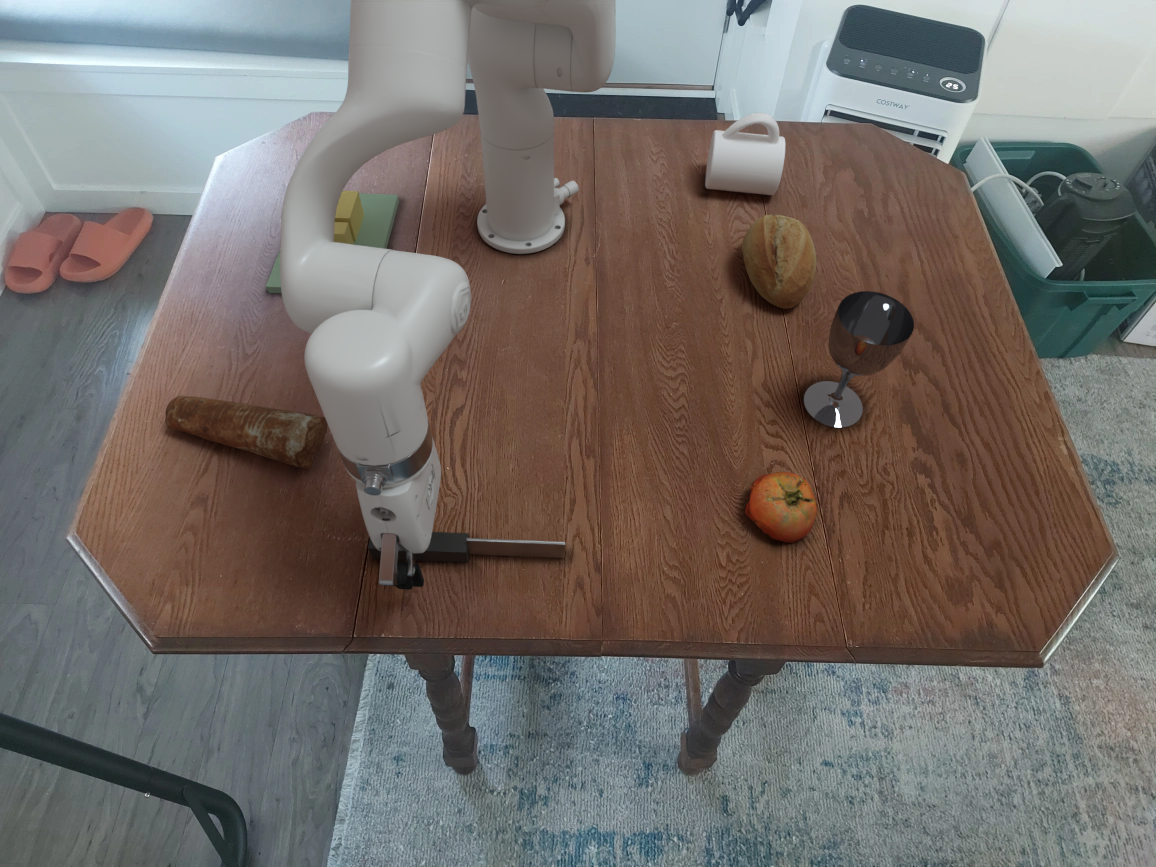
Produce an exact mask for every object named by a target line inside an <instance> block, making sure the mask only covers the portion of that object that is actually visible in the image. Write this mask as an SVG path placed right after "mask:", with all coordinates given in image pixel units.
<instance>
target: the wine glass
mask: <svg viewBox="0 0 1156 867" xmlns="http://www.w3.org/2000/svg"><path fill="white" fill-rule="evenodd" d="M914 328H915V321H914V317H913V315H912V313H911V312H910V310H909V309H908V308H907V307H906V306H905V305H904V304H903V303H902V302H901V301H899V300H898V299H896V298H894V297H893V296H890V295H888V294H885V293H882V292H878V291H869V290H862V291H856V292H852V293H850V294H848V295H847V296H845V297H844V298H843V299H841V301H840V303H839V304H838V306H837V308H836V311H835V314H834V316H833V319H832V322H831V325H830V329H829V335H828V351H829V354H830V357H831V358H832V361H833V362H834V364H835V365H836V366H837V367H838V368H839V369H840V372H841V374H840V380H839V381H838V382H837V381H830V380H825V381H818V382H815V383H812V385H810V386H808V388H807V389H806V390H805V391H804V394H803V405H804V408H805V410H806V412H807V413H808V415H809V416H810V417H811V418H813V419H814V420H815V421H816V422H818V423H820V424H822V425H824V426H825V427H829V428H830V427H831V428H836V429H842V428H843V429H844V428H848V427H851V426H854V425H855V424H856V423H857V422H859V420H860V419H861V417H862V416H863V412H864V408H863V403H862V401H861V398H860V397H859V396H858V394H857V392H855V391H854V390H853V389H851V388H850V387H849V386H848V384H849V383H850V382H851V381H852V379H854V378H855V377H864V376H865V377H866V376H871V375H876V374H878V373H880V372H882V371H883V370H884V369H886V368H887V367H889V366H890V365H891V364H892V363H893V362H894V361H895V360H896V359H897V358H898V357H899V355H900V354H901V353H902V352H903V350H904V348H905V347H906V345H907V343H908V342H909V340H910V338H911V336H912V335H913V332H914Z"/></svg>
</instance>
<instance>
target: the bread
mask: <svg viewBox="0 0 1156 867" xmlns="http://www.w3.org/2000/svg"><path fill="white" fill-rule="evenodd" d="M164 422H165V424H166V425H167V427H168V428H169V429H172V430H175V431H178V432H182V433H187V434H190V435H193V436H196V437H199V438H201V439H204V440H207V441H211V442H214V443H218V444H221V445H225V446H228V447H232V448H236V449H240V450H243V451H246V452H249V453H253V454H255V455H259V456H262V457H264V458H267V459H270V460H275V461H277V462H281V463H282V464H283V463H284V464H287V465H289V466H293V467H297V468H300V469H304V470H305V469H306V470H308V469H310V468H311V467H312V466H313V465H314V458H315V456H316V454H317V452H318V451H319V450H320V449H321V447H322V446H323V442H324V440H325V436H326V434H327V431H328V423H327V421H326V418H325V416H318V415H314V414H311V413H306V412H298V411H292V410H287V409H279V408H271V407H266V406H261V405H255V404H249V403H242V402H235V401H228V400H220V399H214V398H207V397H202V396H201V397H200V396H191V395H190V396H188V395H178V396H176V397H174V398H173V399H171V400H170V401H169V402H168V404H167V405H166V408H165V421H164Z"/></svg>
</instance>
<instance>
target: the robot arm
mask: <svg viewBox="0 0 1156 867" xmlns="http://www.w3.org/2000/svg"><path fill="white" fill-rule="evenodd" d="M616 1H617V0H350V11H349V13H350V14H349V16H350V17H349V39H348V60H347V62H348V64H347V66H348V67H347V86H346V91H345V92H346V93H345V96H344V99H343V101H342V103H341V105H340V106H339V108H338V109H337V110H336V112H334V114H333V115H332V116H331V117H330V118H329V119H328V120H327V121H326V122H325V124H323V125H322V127H320V128H319V130H318V131H317V132H316V133H315V135H314V136H313V138H311V140H310V141H309V142H308V144H307V146H306V147H305V149H304V151H303V152H302V154H301V156H300V158H299V159H298V161H297V164H296V165H295V167H294V170H293V171H292V174H291V176H290V178H289V181H288V184H287V186H286V190H285V193H284V197H283V201H282V207H281V214H280V243H279V244H280V245H279V246H280V249H279V251H280V279H281V291H282V293H281V297H282V302H283V306H284V308H285V311H286V314H287V315H288V317H289V319H290V320H291V322H292V323H293V324H294V325H295V326H296V327H297V328H299V329H300V330H302V331H304V332H306V333H308V334H310V336H309V337H308V340H307V342H306V344H305V348H304V355H303V356H304V367H305V370H306V373H307V376H308V380H309V381H310V384H311V387H312V388H313V391H314V394H315V396H316V399H317V401H318V404H319V406H320V409H321V412H322V414H323V417H325V418H326V421H327V427H328V428H329V431H330V433H331V435H332V439H333V441H334V442H335V446H336V448H337V451H338V453H339V455H340V458H341V461H342V462H343V466H344V468H345V470H346V472H347V473H348V475H349V476H350V477H351V478H352V479H353V480H354V481H355V487H356V492H357V498H358V502H359V507H360V511H361V516H362V518H363V522H364V525H365V528H366V531H367V534H368V536H369V539H370V538H371V541H372V543H373V544H374V546H375V547H376V548H377V549H378V550H379V551H381V559H379V560H380V562H379V573H378V574H379V575H378V584H379V586H393V587H395V588H396V589H399V590H404V591H405V590H406V591H407V590H408V591H409V590H413V588H423V587H424V584H425V579H424V575H423V572H422V569H421V566H420V564H419V563H418V562H416V560H415V553H423V552H425V551H426V550H427V548H428V547H429V544H430V540H431V535H432V532H433V529H434V524H435V517H436V513H437V506H438V499H439V496H440V495H439V494H440V487H441V479H442V465H441V461H440V458H439V453H438V450H437V448H436V444H435V440H434V438H433V434H432V430H431V424H430V421H429V416H428V412H427V407H426V404H425V398H424V395H423V394H424V393H423V390H422V382H423V380H424V379H425V377H426V376H427V375H428V374H429V372H430V370H431V369H432V368H433V367H434V365H435V363H436V362H438V360H439V358H440V357H441V356H442V355H443V354H444V352H445V351H446V349H447V348H448V347H449V346H450V345H451V343H452V341H454V339H455V337H456V336H457V335H458V333H460V332H461V331H462V330H463V329H464V327H465V325H466V323H467V321H468V318H469V316H470V311H471V307H472V306H471V305H472V290H471V284H470V280H469V277H468V274H467V273H466V271H465V269H464V268H463V267H462V266H461V265H460V264H459V263H457V262H456V261H454V260H452V259H449V258H446V257H444V256H438V255H433V254H425V253H418V252H409V251H402V250H395V249H390V248H387V249H384V248H376V247H368V246H360V245H352V244H345V243H338V242H334V226H335V215H336V209H337V205H338V202H339V199H340V196H341V193H342V191H344V189H345V187H346V186H347V184H348V183H349V181H350V180H351V178H352V177H353V176H354V174H356V172H358V171H359V170H360V169H361V168H362V167H363V166H364V165H365V164H367V163H368V162H369V161H371V160H372V159H374V158H375V157H377V156H379V155H380V154H381V155H382V154H383V153H384V152H386V151H388V150H390V149H393V148H395V147H398V146H400V145H403V144H406V143H409V142H412V141H416V140H419V139H422V138H426V137H429V136H434V135H436V134H439V133H442V132H444V131H447V130H449V129H451V128H453V127H454V126H456V125H457V124H458V123H459V122H460V121H461V120H462V117H463V115H464V112H465V106H466V90H467V75H468V73H467V72H468V67H469V70H470V74H471V78H472V82H473V87H474V92H475V99H476V106H477V115H478V127H479V137H480V148H481V158H482V159H481V160H482V170H483V182H484V191H485V192H484V193H485V204H484V205H483V206H482V207H481V209H480V210H479V212H478V214H477V217H476V218H477V219H476V220H477V221H476V223H477V224H476V225H477V230H478V233H479V236H480V238H481V239H482V240H483V241H484V243H486V244H488V246H490V247H492V248H494V249H496V250H498V251H500V252H503V253H507V254H514V255H515V254H516V255H526V254H534V253H537V252H541V251H544V250H546V249H549V248H550V247H552V246H554V245H555V244H556V243H557V242H558V241H559V240H560V239H561V237H562V236H563V234H564V232H565V228H566V217H565V213H564V212H563V209H562V208H561V207H560V206H561V205H563V204H564V203H565V200H566V199H569V198H571V197H573V196H575V195H577V194H578V193H579V192H580V187H579V185H578V183H577V182H576V181H575V180H570V181H568V182H566V183H565V184H563V185H561V182H560V179H559V178H558V177H555V114H554V110H553V106H552V103H551V101H550V98H549V96H548V95H547V92H546V91H545V90H553V91H560V92H561V91H562V92H571V93H593V92H596V91H599V90H600V89H601V88H603V87H604V86H605V85H606V83H607V82H608V80H609V78H610V76H611V73H612V71H613V68H614V67H613V66H614V63H615V56H616V45H617V44H616V43H617V42H616V39H617V38H616V37H617V29H616V28H617V27H616V26H617V22H616V21H617V20H616V16H617V15H616V8H617V6H616V5H617V4H616V3H617V2H616ZM560 186H561V187H560ZM558 187H559V188H558ZM399 540H400V541H399ZM398 551H406V552H407V560H398Z"/></svg>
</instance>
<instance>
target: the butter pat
mask: <svg viewBox="0 0 1156 867" xmlns="http://www.w3.org/2000/svg"><path fill="white" fill-rule="evenodd" d="M334 242H338V243H345V244H352V245H354V242H353V238H352V235H351V231H350V228H349V224H348V223H347V222H335V226H334Z"/></svg>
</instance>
